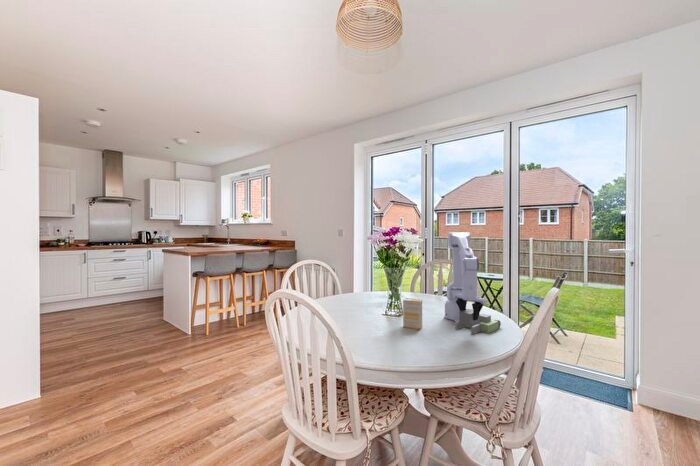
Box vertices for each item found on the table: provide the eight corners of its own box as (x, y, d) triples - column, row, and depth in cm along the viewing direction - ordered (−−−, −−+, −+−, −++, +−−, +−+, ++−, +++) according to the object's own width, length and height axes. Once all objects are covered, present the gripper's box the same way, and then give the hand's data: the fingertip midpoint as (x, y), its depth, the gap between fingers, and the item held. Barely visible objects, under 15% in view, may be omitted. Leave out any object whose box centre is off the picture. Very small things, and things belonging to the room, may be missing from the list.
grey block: (459, 323, 130) (459, 311, 130) (468, 319, 134) (468, 308, 134) (470, 326, 126) (470, 314, 126) (479, 322, 130) (479, 311, 130)
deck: (455, 328, 142) (455, 315, 141) (475, 321, 152) (475, 309, 152) (480, 336, 132) (481, 322, 132) (501, 327, 143) (501, 315, 142)
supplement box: (422, 326, 144) (422, 299, 144) (420, 330, 140) (420, 301, 140) (405, 324, 148) (405, 297, 148) (402, 327, 144) (402, 299, 143)
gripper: (449, 284, 133) (448, 315, 133) (481, 290, 121) (480, 324, 122) (458, 282, 137) (458, 312, 137) (490, 287, 126) (489, 320, 126)
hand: (469, 318), depth 130 cm, fingers closed on grey block, 5 cm apart
